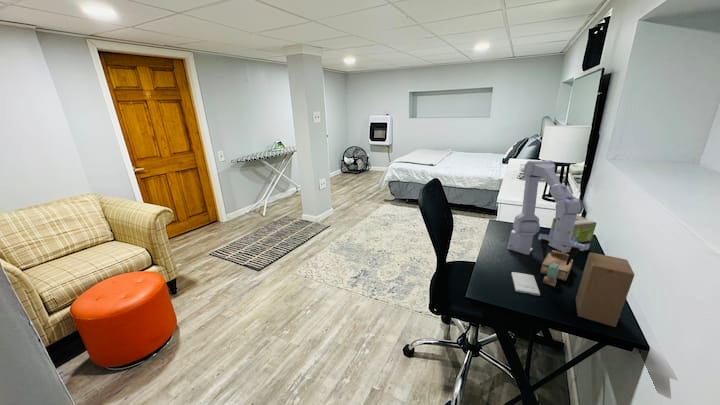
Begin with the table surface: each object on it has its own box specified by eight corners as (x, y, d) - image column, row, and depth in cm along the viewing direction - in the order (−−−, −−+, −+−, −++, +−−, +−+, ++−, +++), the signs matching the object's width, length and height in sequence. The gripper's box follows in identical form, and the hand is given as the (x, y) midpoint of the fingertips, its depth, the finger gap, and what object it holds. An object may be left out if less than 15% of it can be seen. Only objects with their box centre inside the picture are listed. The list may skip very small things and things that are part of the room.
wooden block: (616, 328, 90) (635, 274, 84) (577, 316, 95) (592, 265, 89) (610, 309, 98) (627, 259, 92) (575, 299, 103) (589, 251, 97)
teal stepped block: (545, 280, 114) (549, 266, 112) (547, 276, 117) (551, 262, 115) (554, 283, 113) (557, 269, 110) (556, 279, 115) (560, 264, 113)
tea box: (564, 254, 133) (571, 225, 128) (546, 244, 143) (552, 217, 138) (589, 250, 137) (597, 221, 132) (570, 240, 146) (577, 214, 141)
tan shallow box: (535, 279, 115) (537, 272, 114) (546, 261, 128) (548, 254, 127) (562, 289, 109) (564, 281, 108) (570, 268, 122) (572, 261, 121)
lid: (541, 265, 119) (543, 259, 118) (548, 254, 127) (549, 248, 126) (567, 273, 113) (569, 267, 112) (572, 261, 121) (574, 255, 120)
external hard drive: (533, 278, 117) (539, 297, 106) (511, 274, 120) (515, 292, 109) (533, 275, 116) (540, 293, 105) (511, 271, 119) (516, 289, 108)
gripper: (539, 227, 109) (532, 258, 114) (585, 238, 100) (576, 271, 104) (543, 221, 114) (536, 251, 119) (588, 232, 105) (579, 264, 109)
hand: (555, 260), depth 112 cm, fingers open, 7 cm apart
